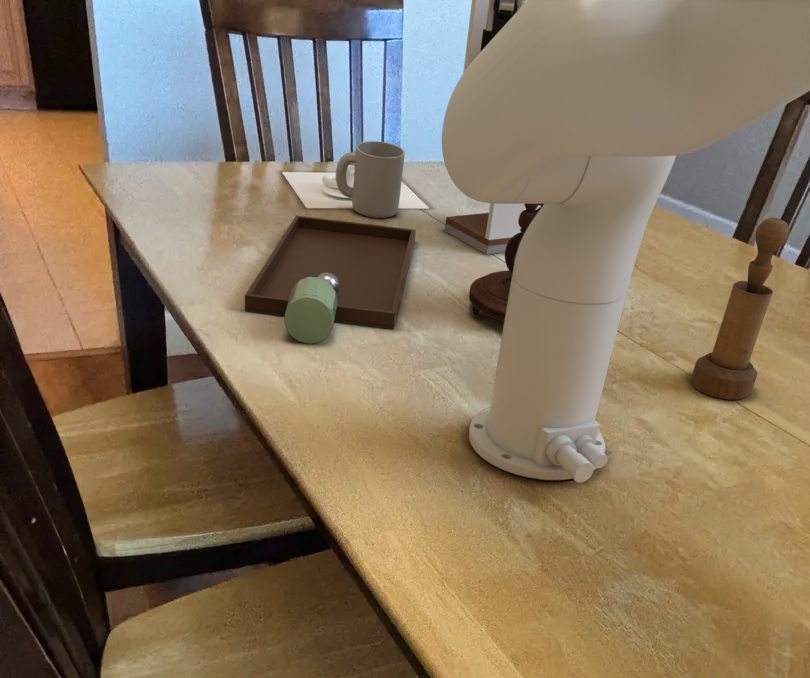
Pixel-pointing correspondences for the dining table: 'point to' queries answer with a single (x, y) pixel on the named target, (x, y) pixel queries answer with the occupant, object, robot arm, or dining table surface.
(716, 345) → the mortar and pestle
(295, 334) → the tumbler
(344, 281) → the tray
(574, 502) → the dining table surface
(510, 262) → the dark brown wooden piece
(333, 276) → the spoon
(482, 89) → the robot arm
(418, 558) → the dining table surface
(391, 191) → the cup
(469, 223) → the white shelf tower
